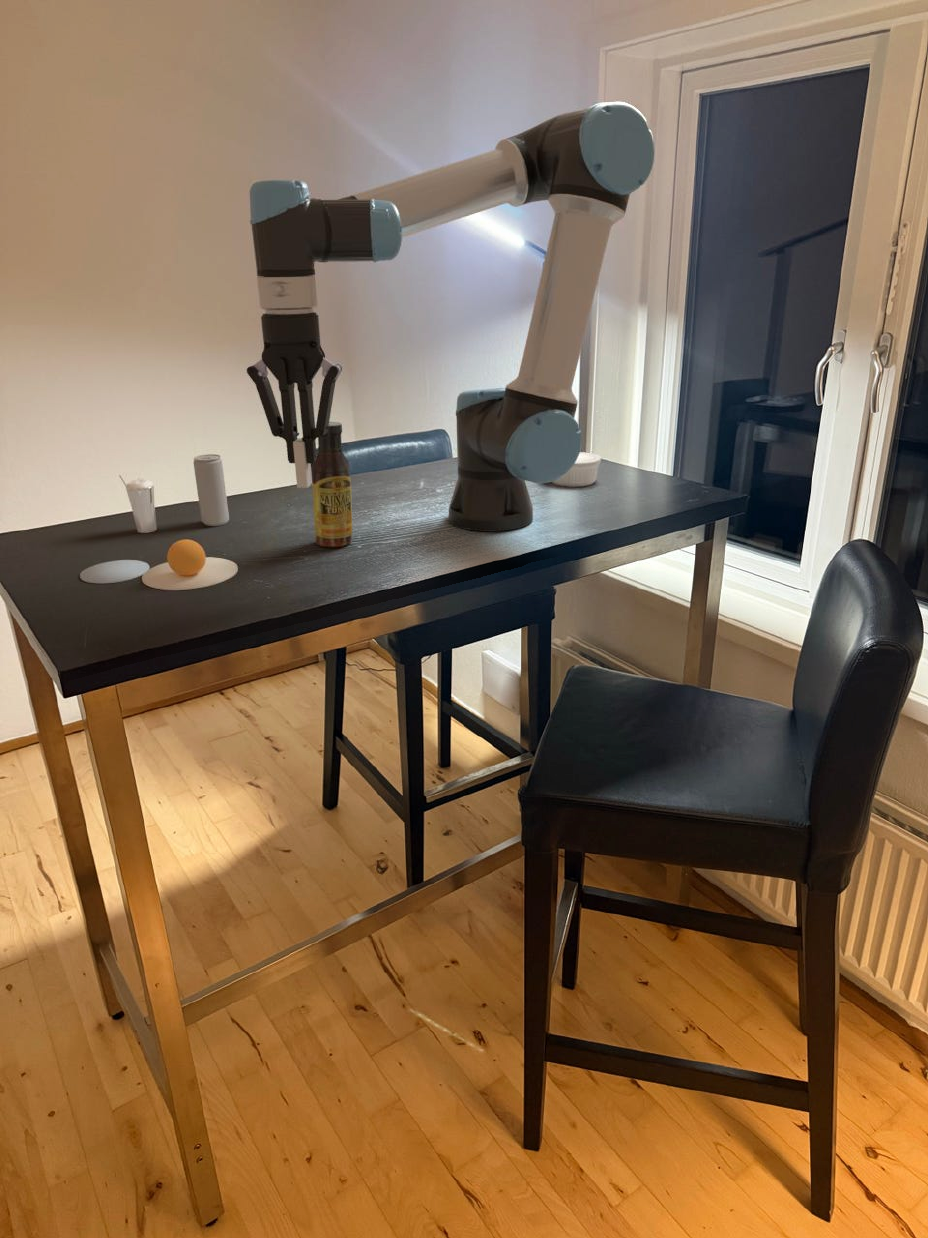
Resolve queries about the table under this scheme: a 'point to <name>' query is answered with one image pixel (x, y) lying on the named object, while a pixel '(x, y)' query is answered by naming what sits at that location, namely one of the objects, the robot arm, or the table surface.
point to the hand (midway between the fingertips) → (304, 485)
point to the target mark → (208, 576)
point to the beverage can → (211, 489)
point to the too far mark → (114, 571)
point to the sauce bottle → (332, 491)
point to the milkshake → (142, 504)
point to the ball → (186, 557)
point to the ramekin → (581, 471)
